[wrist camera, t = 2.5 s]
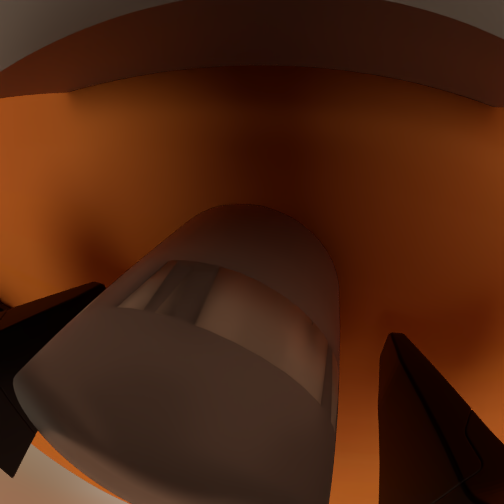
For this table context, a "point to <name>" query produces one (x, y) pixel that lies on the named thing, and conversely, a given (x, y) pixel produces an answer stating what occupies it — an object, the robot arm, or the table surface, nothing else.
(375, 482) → the table surface
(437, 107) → the table surface
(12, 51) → the gray ring-topped block
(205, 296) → the grey rounded block
